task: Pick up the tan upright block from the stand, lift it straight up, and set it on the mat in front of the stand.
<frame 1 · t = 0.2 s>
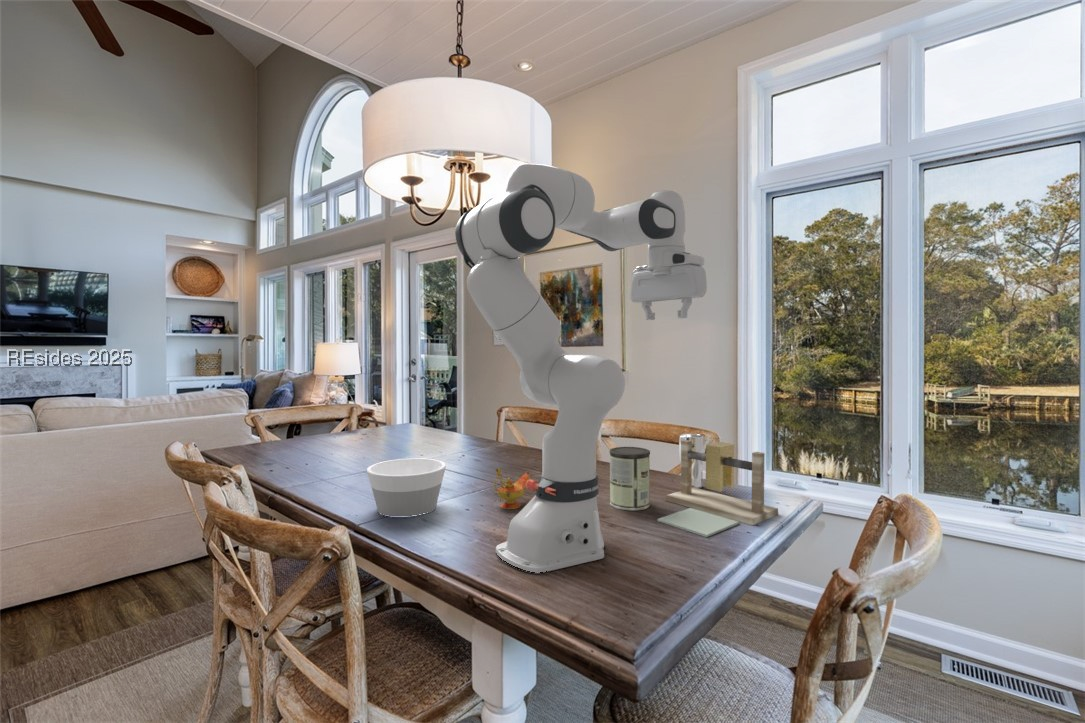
hand: (665, 319, 121), 47 cm above the table, fingers open, 8 cm apart
bowl: (407, 509, 126), on the table
magic lamp: (514, 504, 130), on the table
beer glass: (691, 487, 146), on the table
tan upright block: (719, 487, 127), point 5 cm above the table, touching stand
mat: (697, 522, 116), on the table
coffee can: (629, 505, 129), on the table
stand: (719, 507, 127), on the table
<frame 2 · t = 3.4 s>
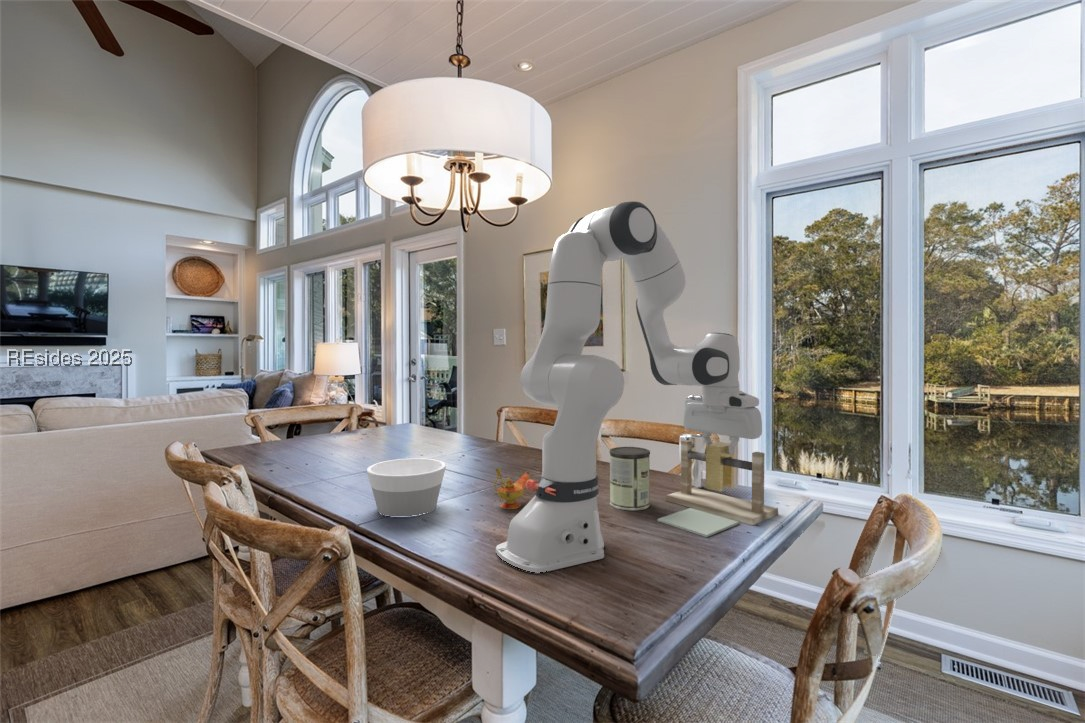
hand: (720, 452, 127), 14 cm above the table, fingers closed on tan upright block, 4 cm apart
tan upright block: (719, 487, 127), point 5 cm above the table, touching gripper, stand
everything else where it was.
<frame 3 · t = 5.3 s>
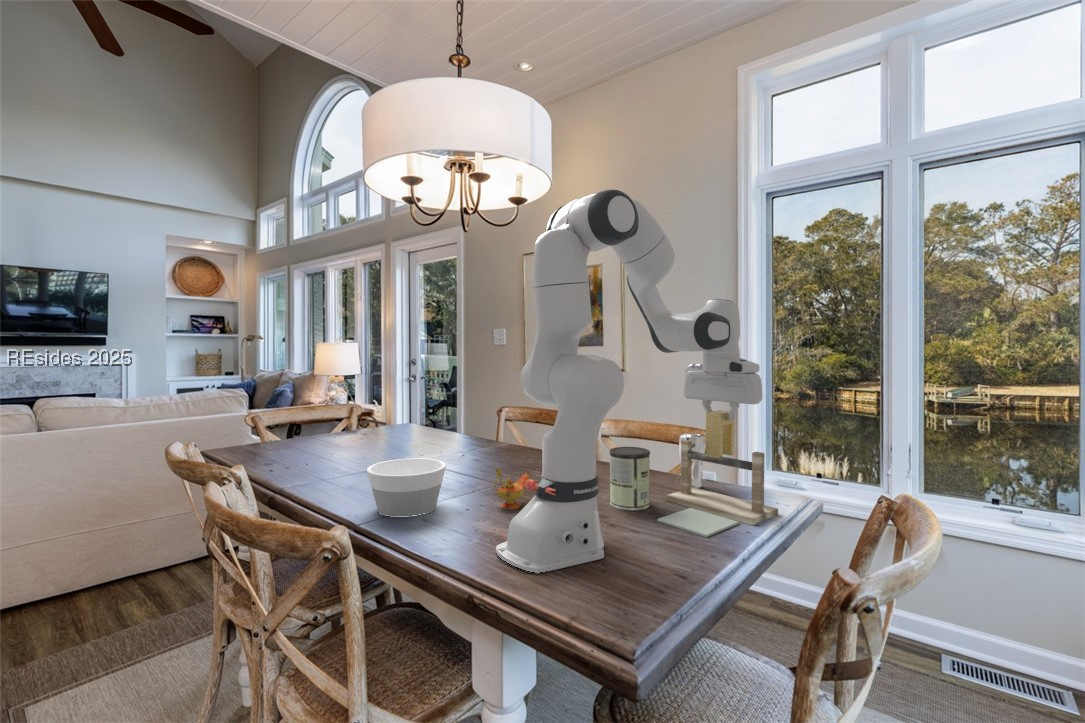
hand: (720, 419, 127), 22 cm above the table, fingers closed on tan upright block, 4 cm apart
tan upright block: (719, 455, 127), point 13 cm above the table, touching gripper
everything else where it was.
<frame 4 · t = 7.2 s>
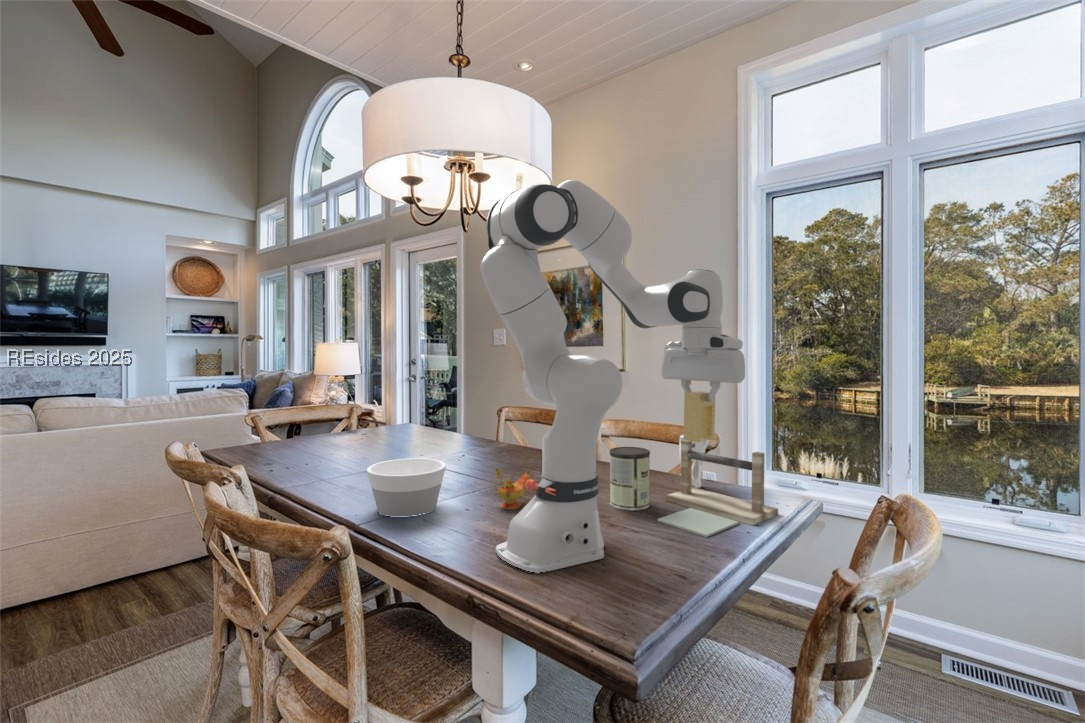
hand: (699, 400, 116), 28 cm above the table, fingers closed on tan upright block, 4 cm apart
tan upright block: (698, 439, 117), point 19 cm above the table, touching gripper
everything else where it was.
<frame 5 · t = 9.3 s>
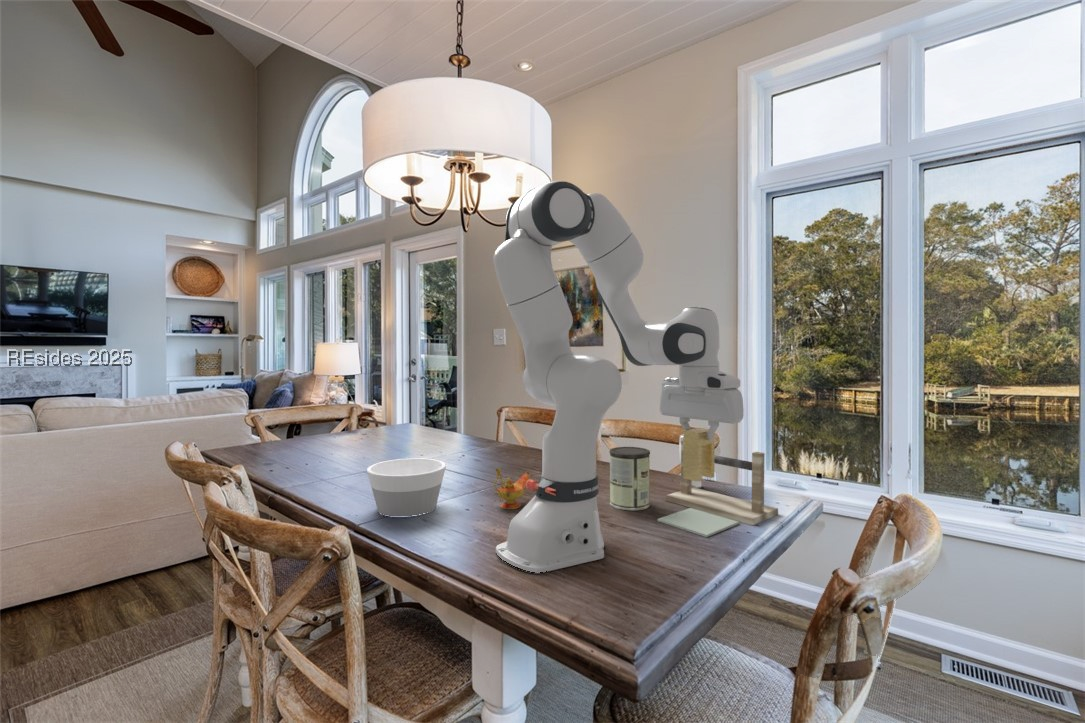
hand: (698, 438, 116), 19 cm above the table, fingers closed on tan upright block, 4 cm apart
tan upright block: (698, 477, 116), point 10 cm above the table, touching gripper
everything else where it was.
when the fingers open (11 cm above the table, at t = 11.2 s): tan upright block drops 2 cm, resting on mat.
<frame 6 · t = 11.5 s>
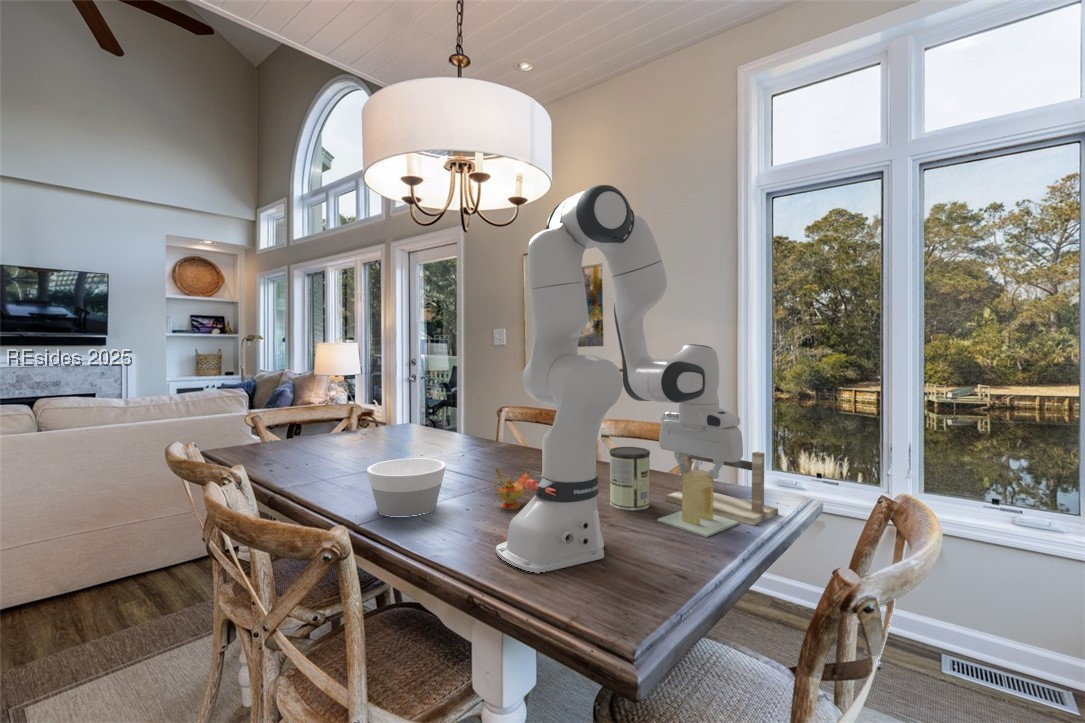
hand: (698, 474, 116), 11 cm above the table, fingers open, 7 cm apart
tan upright block: (697, 520, 116), resting on mat
everything else where it was.
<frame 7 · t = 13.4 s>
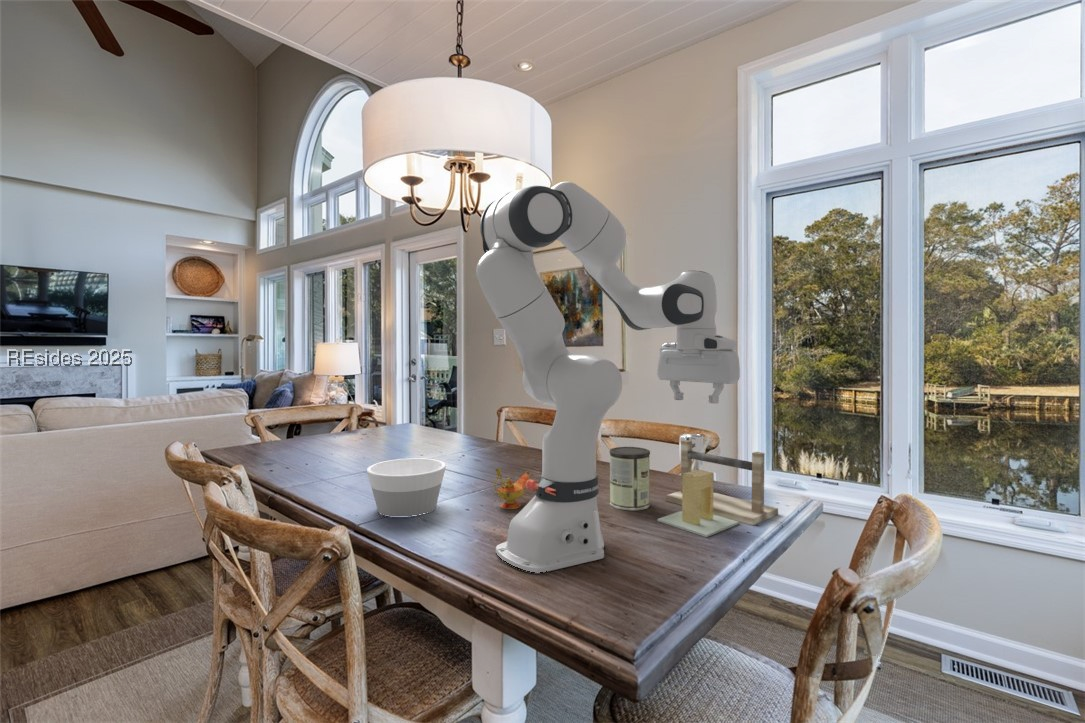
hand: (695, 401, 117), 28 cm above the table, fingers open, 8 cm apart
nothing on the table moved.
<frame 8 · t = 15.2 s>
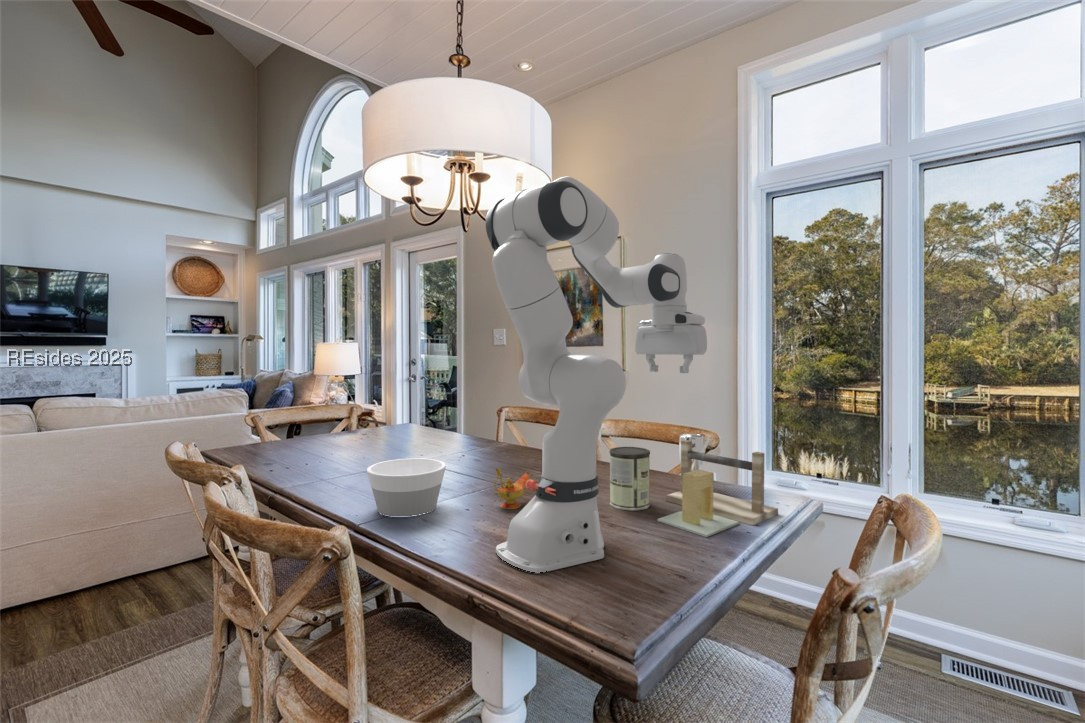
hand: (668, 372, 129), 34 cm above the table, fingers open, 8 cm apart
nothing on the table moved.
at the end: tan upright block inside the target area on the mat (0.0 cm from its centre), point 0.5 cm above the mat's base; tan upright block tilted 0°; the gripper is holding nothing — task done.
